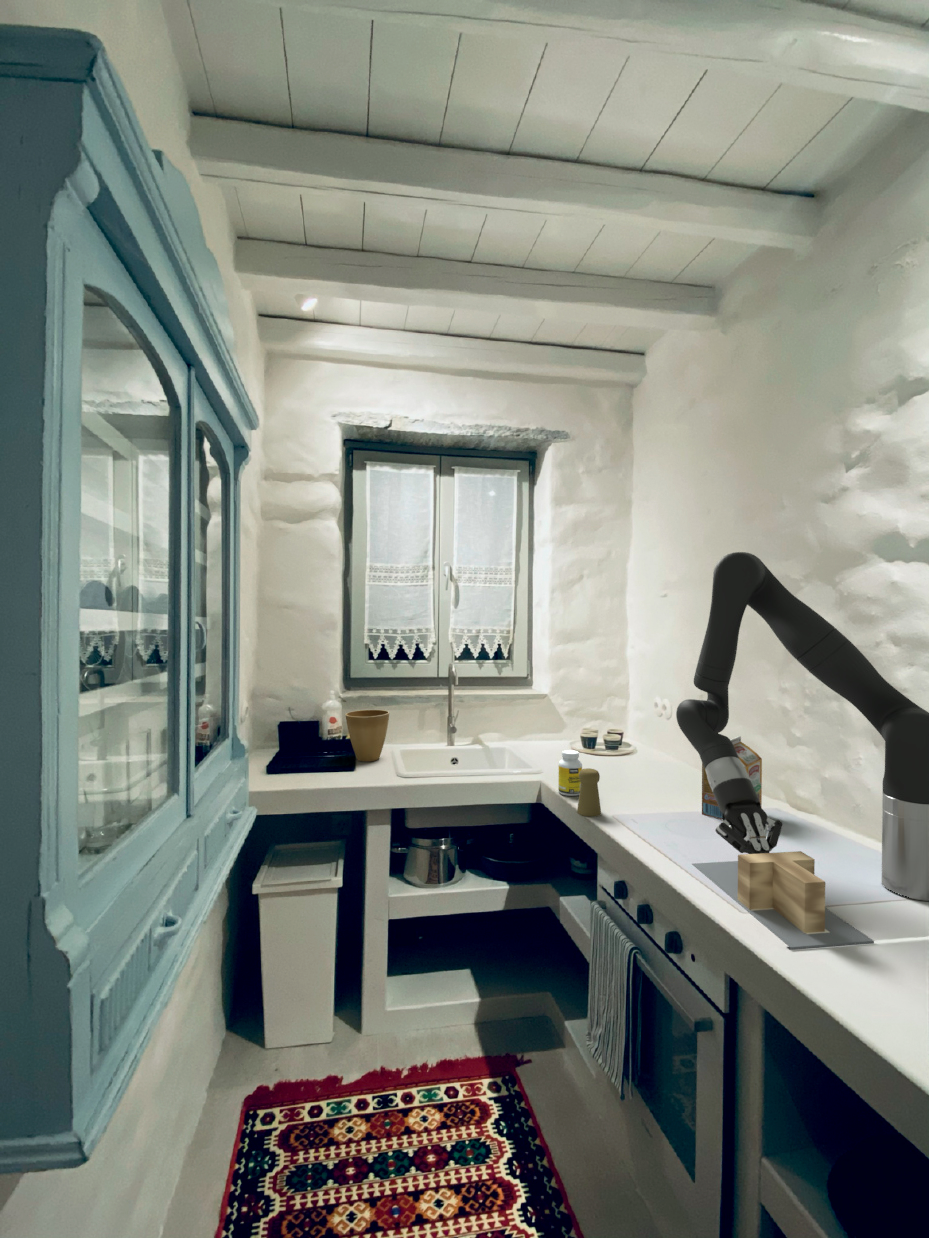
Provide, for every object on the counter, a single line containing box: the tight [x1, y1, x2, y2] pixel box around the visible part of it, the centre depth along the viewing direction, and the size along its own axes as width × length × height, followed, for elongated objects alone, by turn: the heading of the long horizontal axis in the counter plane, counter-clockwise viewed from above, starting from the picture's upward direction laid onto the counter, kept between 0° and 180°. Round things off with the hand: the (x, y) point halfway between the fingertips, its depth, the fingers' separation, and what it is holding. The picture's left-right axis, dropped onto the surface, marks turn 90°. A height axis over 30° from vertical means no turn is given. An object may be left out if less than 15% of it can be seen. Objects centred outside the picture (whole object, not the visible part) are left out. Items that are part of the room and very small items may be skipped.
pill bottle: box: [558, 749, 583, 797], centre depth 168 cm, size 6×6×12 cm
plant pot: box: [345, 709, 390, 763], centre depth 206 cm, size 15×15×16 cm
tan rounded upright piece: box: [576, 767, 602, 818], centre depth 152 cm, size 6×6×11 cm
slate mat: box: [691, 860, 875, 951], centre depth 107 cm, size 14×30×1 cm, turn 7°
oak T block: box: [737, 850, 826, 933], centre depth 101 cm, size 12×12×8 cm
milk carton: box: [701, 735, 763, 820], centre depth 151 cm, size 11×11×19 cm
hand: (768, 874), depth 107 cm, fingers closed
